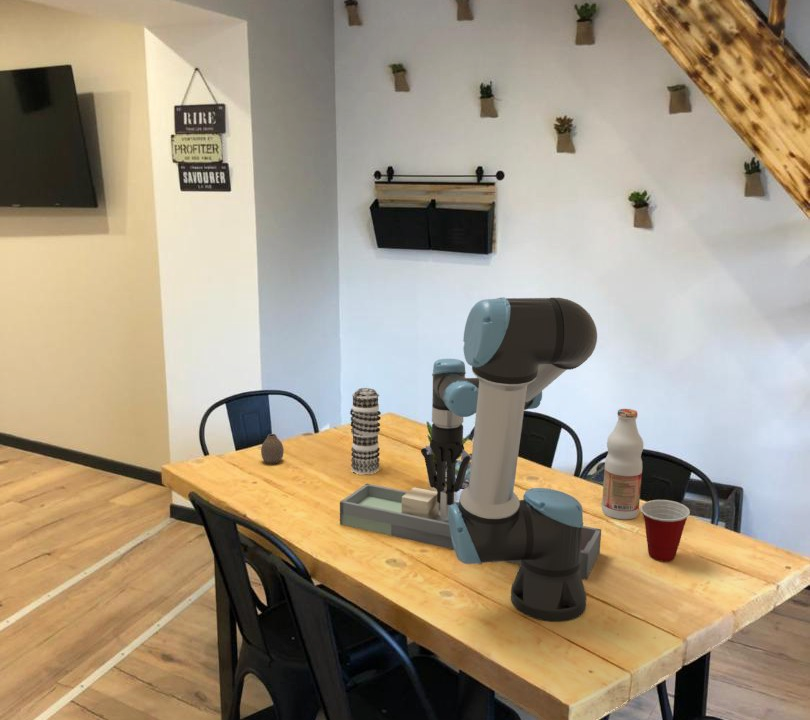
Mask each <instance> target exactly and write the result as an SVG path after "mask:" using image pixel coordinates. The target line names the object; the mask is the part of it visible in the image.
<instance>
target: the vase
mask: <svg viewBox="0 0 810 720" xmlns="http://www.w3.org/2000/svg"><path fill="white" fill-rule="evenodd" d="M284 454H285V453H284V445H283V443H282V441H281V440H279V438H278V436H277V434H276V433H269V434H268V435H267V437H266V439H265V440H264V441H263V442H262V444H261V448H260V455H261V459H262V460H263V461H264V462H265V463H266V464H269V465H275V464H278V463H279V462H280V461H282V459H283V457H284Z"/></svg>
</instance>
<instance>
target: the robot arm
mask: <svg viewBox="0 0 810 720" xmlns="http://www.w3.org/2000/svg"><path fill="white" fill-rule="evenodd" d="M464 325H465V326H464V331H463V340H462V341H463V343H464V344H463V356H464V359H465V361H466V363H467V364H468V365H470V366H471V372H472V373H473V375H474V376H475V377H466V373H467V372H466V365H465V362H464V361H463V360H461V359H458V358H441V359H437V360H435V361H434V363H433V367H432V368H433V369H432V373H431V376H432V402H431V404H432V407H431V408H432V409H431V422H432V424H431V441H430V442H429V445H426V446H424V447H423V448H421V450H420V453H421V455H422V456H423V458H424V462H425V466H426V467H425V468H426V472H427V477H428V482H429V486H430V488H435V490H436V492H437V502H438V503H440V517H441V518H447V517H448V521H449V529H450V534H451V539H452V543H453V547H454V550H453V551H454V553H455V556H456V557H457V559H458V560H459V561H460V562H461V563H463V564H466V565H471V564H475V565H476V564H477V565H483V564H488V563H490V564H491V563H499V562H500V563H501V562H506V561H516V560H521V565H519V568H518V570H517V572H516V575H515V577H514V580H513V583H512V585H511V588H510V601H511V604H512V605H513V607H514V608H515V609H516V610H517V611H519V612H520V613H522V614H523V615H524V616H527V617H530V618H533V619H535V620H540V621H546V622H566V621H571V620H574V619H576V618H579V617H580V616H582V615H583V614H584V613H585V611H586V609H587V593H586V590H585V585H584V583H583V579H582V578H581V574H580V571H579V566H580V553H581V540H582V527H583V526H584V522H583V521H584V520H583V519H584V518H583V517H584V515H583V513H584V512H583V506H582V504H581V502H580V501H579V500H578V499H577V498H576V497H574V496H572V495H570V494H568V493H565V492H564V491H560V490H557V489H551V488H545V487H532V488H530V489H527V490H526V491H525V492H524V494H523V496H522V497H523V499H520V498H519V497H518V495H517V494H516V493H515V492H514V489H515V482H516V473H517V467H518V459H519V458H518V457H519V450H520V443H521V436H522V430H523V420H524V412H525V411H526V410H533V409H534V410H535V409H537V408H539V407H540V405H541V401H542V399H543V391H544V390H545V389H547V388H548V386H550V384H552V383H553V382H554V381H555V380H557V379H558V378H559V377H561V376H562V375H563V374H564V373H565V372H566V371H567V370H568V371H569V370H574V369H577V368H579V367H581V366H582V365H583V364H584V363H585V362H586V361H587V360H588V359H589V358H590V357H591V356H592V355H593V353H594V351H595V349H596V345H597V341H598V329H597V326H596V323H595V320H594V319H593V318H592V316H591V314H590V313H589V312H588V310H586V309H585V308H584V307H583V306H582V305H580V304H579V303H578V302H575V301H573V300H571V299H567V298H562V297H532V298H531V297H525V298H524V297H522V298H521V297H519V298H517V297H516V298H515V297H512V298H507V297H504V296H503V297H496V298H490V299H489V298H488V299H487V298H486V299H482V300H479V301H477V302H476V303H475V304H474V305H473V306H472V308H471V309H470V311H469V313H468V316H467V318H466V322H465V324H464ZM473 415H475V418H474V419H475V421H474V430H473V439H472V448H471V449H472V452H471V453H469V452H468V451H466V450H465V446H464V444H463V439H464V425H463V424H464V418H467V417H468V418H469V417H472V416H473ZM434 456H435V458H436V463H435V460H434ZM459 457H461V458H460V460H461V463H460V464H459V468H458V472H457V474H456V464H457V460H458V459H459ZM469 464H470V469H469V470H470V472H469V480H468V481H469V482H468V485H467V486H466V487H464V489H462V488H463V483H464V481H465V477H466V474H467V470H468V467H469ZM436 468H437V469H436ZM456 475H457V476H456ZM461 489H462V490H461ZM460 490H461V492H460V493H459V499H458V501H459V504H457V503H454V504H453V502H454V501H455V493H458V492H459V491H460Z"/></svg>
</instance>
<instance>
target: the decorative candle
mask: <svg viewBox="0 0 810 720" xmlns="http://www.w3.org/2000/svg"><path fill="white" fill-rule="evenodd" d="M351 396H352V405H351V406H352V407H351V408H350V412H349V414H350V415H351V417H350V426H351V429H350V430H351V431H350V432H351V435H352V444H351V445H352V447H351V449H350V451H352V452H351V454H350V455H351V459H350V462H351V465H350V466H351V472H352V471H353V472H355V473H358V474H357V475H360V474H371V475H373V474H372V473H375V472H377V471H379V472H380V449H381V448H380V447H379V445H380V444H379V441H378V440H379V435H380V432H381V428H380V426H381V423H380V422H379V421H380V420H381V416H380V415H381V414H382V413H381V411H380V410H379V407H380V405H379V397H380V394H379V393H378V392H377V391H376V390H375V389H374V388H369V387H368V388H367V387H364V388H363V387H362V388H358V389H356V390H355V392H353V393H352V395H351ZM353 472H352V473H353ZM355 473H354V474H355ZM377 473H378V472H377ZM375 474H376V473H375Z"/></svg>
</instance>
